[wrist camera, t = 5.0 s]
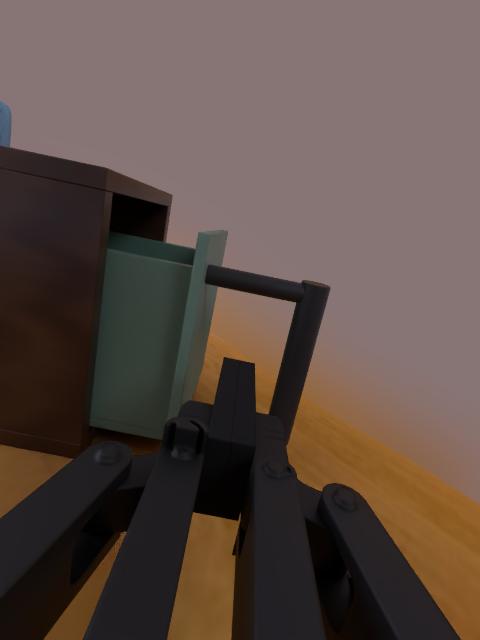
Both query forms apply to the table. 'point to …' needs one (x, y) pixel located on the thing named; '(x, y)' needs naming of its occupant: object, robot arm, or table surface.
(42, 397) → the box
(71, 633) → the table surface
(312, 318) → the green drawer
